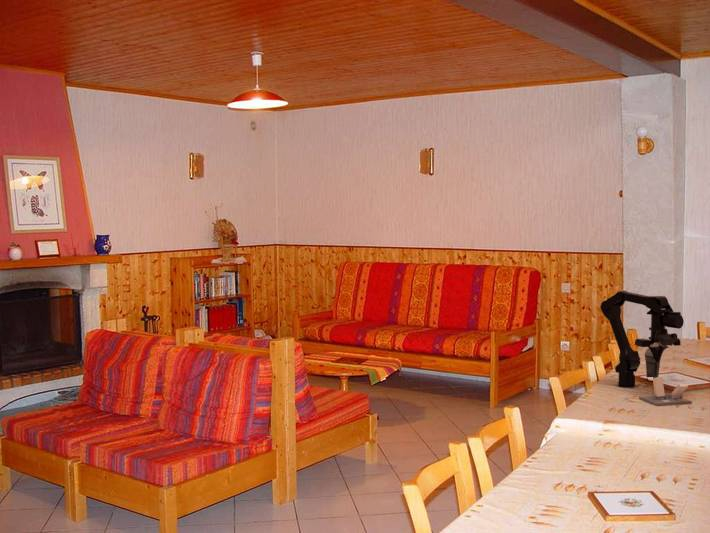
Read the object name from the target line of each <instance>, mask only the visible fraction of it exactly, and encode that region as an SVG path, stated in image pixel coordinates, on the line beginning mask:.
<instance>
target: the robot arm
mask: <svg viewBox="0 0 710 533" xmlns="http://www.w3.org/2000/svg"><path fill="white" fill-rule="evenodd" d="M626 302H629V303H634V304H638V305H642V306H645V307H646V308H647V309H649V311H647V312H646V315H649V316H651V317H650V326H649V327H648V330H650V336H649V337H648V339H647V338H636V339H634V346H637V347H640V348H649V349H650V351H651V352H652V355H653V357H654V359H655V361H656V362H659V360H660V358H661V359H662V357H661V356H662V355H663V353H664V352H665V350H666V349H669V347H670V346H677V347H678V346H681V344H682V341H681V340H680V338H678V334H677V333H669V332H668V329H667V328H673V329H679V330H680V329H682V327H683V326H684V323H685V321H684V317H683V316H682V314H681V313H682V312H680V311H674V310H673V308H672V306H671V305H670V303H669V301H668V298H667V297H666V296H665V295H664V296H663V295H652V296H651V295H645V294H640V293H634V292H630V291H627V290H620V291H617V292H616V293H615V294H613V295H612V296H610V297H609V298H607V299H606V300H605V299H604V300H603V301H602V302H601V304H600V311H601V312H602V314H603V316H604V317H605V319H607V320H608V321H609V323H610V326H611V330H612V332H613V336H614V338H615V342H616V343H617V347H618V349H619V356H618V360H619V363H618V364H616V366H615V367H614V369H615V370H614V371H615V373H617V374H618V382H617V385H618V387H620V388H622V387H623V388H634V387H635V386H636V375H635V372H637V371H638V369H639V367H640V365H641V357H640V355H639V354H640V353H639V352H638V350H634V349H633V348H632V347H631V344H630V341H629V339H628V335H627V333H626V330H625V327H624V324H623V320H622V319H621V314H622V309H621V308H622V307H623V305H625V303H626ZM660 361H661V360H660Z"/></svg>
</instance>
